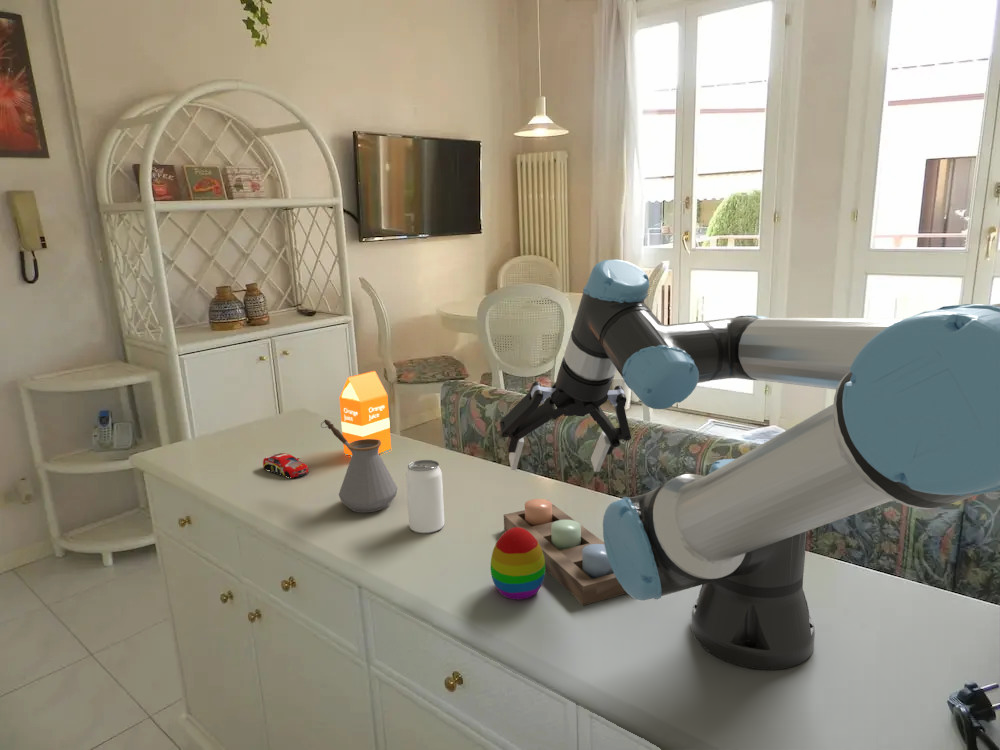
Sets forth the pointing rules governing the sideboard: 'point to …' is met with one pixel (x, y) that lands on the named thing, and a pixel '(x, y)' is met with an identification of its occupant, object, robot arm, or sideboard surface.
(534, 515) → the terracotta button
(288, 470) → the race car
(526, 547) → the decorative egg
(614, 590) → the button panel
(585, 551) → the slate blue button
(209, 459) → the sideboard surface
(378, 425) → the orange juice
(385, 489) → the coffee pot
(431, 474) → the can
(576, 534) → the sage button
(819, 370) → the robot arm
